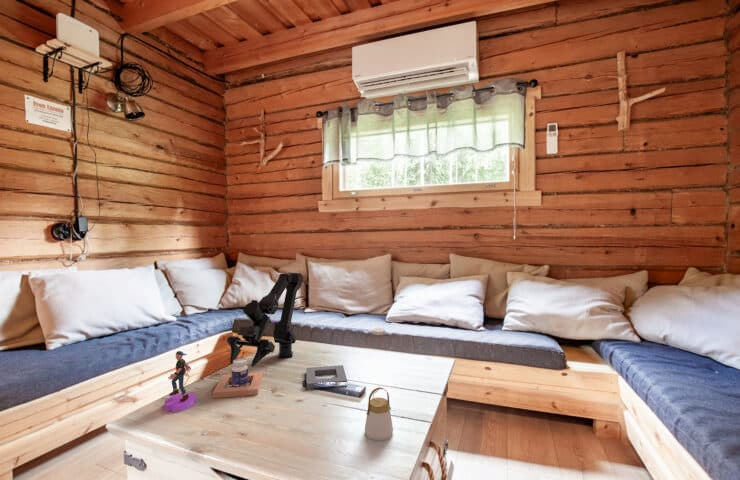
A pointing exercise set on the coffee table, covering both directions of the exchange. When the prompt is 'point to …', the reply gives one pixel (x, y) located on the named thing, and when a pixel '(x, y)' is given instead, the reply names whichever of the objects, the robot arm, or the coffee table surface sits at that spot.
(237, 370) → the pill bottle
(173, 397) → the figurine
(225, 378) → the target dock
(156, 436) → the coffee table surface
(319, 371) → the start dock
